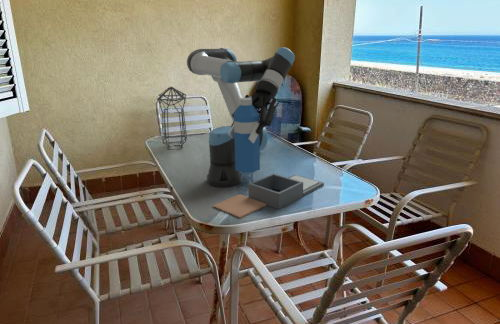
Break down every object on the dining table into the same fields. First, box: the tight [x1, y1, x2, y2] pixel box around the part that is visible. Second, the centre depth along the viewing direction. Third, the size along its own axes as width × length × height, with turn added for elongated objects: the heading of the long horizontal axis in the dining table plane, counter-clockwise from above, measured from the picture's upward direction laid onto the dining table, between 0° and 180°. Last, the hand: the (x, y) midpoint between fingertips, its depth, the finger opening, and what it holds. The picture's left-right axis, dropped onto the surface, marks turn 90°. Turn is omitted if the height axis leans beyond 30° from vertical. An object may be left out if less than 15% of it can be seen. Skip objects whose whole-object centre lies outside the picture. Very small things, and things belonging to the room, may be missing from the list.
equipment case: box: [248, 173, 325, 210], centre depth 145 cm, size 15×30×6 cm, turn 137°
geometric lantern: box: [156, 86, 188, 149], centre depth 204 cm, size 16×16×35 cm
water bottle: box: [234, 97, 261, 174], centre depth 125 cm, size 9×9×25 cm
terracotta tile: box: [212, 193, 268, 219], centre depth 133 cm, size 14×14×1 cm
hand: (240, 138), depth 123 cm, fingers closed on water bottle, 9 cm apart
